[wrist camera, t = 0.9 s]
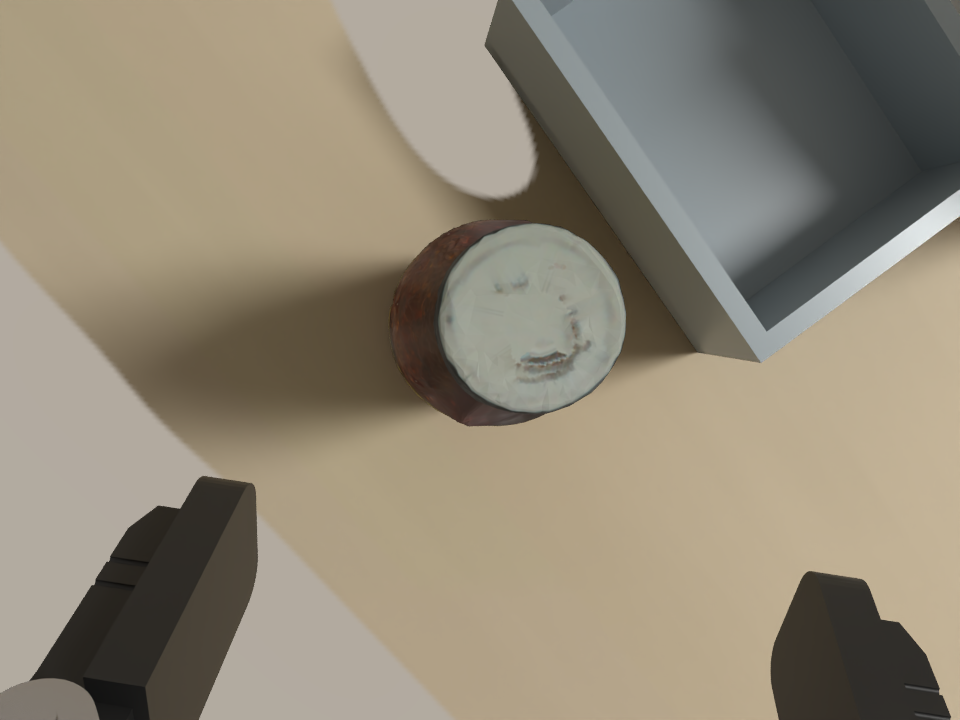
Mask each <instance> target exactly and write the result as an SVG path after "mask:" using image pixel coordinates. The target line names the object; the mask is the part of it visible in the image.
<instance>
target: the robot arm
mask: <svg viewBox="0 0 960 720" xmlns="http://www.w3.org/2000/svg"><path fill="white" fill-rule="evenodd" d="M257 553H258V549H257V515H256V491H255V487H254V485H253V484H252V483H246V482H240V481H233V480H227V479H220V478H213V477H207V476H202V477H200V478H199V479H198V480H197V482H196V483H195V485H194V486H193V488H192V490H191V492H190V493H189V495H188V497H187V498H186V500H185V502H184V504H183V505H182V507H181V509H177V508H171V507H164V506H157V507H156V508H154V509H153V510H152V511H150V512H149V513H148V514H146V515H145V516H144V517H142V518H141V519H140V520H139V521H137V522H136V523H135V524H133V525H132V526H130V527H129V528H128V530H127V531H126V532H125V534H124V536H123V537H122V539H121V540H120V542H119V544H118V545H117V547H116V548H115V550H114V551H113V553H112V554H111V556H110V561H109V562H106V564H105V565H104V567H103V569H102V570H101V572H100V573H99V575H98V576H97V578H96V582H95V585H92V586H91V587H90V589H89V590H88V592H87V594H86V595H85V597H84V598H83V600H82V601H81V603H80V605H79V606H78V608H77V609H76V611H75V612H74V614H73V616H72V617H71V619H70V620H69V622H68V623H67V625H66V626H65V628H64V630H63V631H62V633H61V634H60V636H59V638H58V639H57V641H56V642H55V644H54V645H53V647H52V648H51V650H50V651H49V653H48V655H47V656H46V658H45V659H44V661H43V663H42V664H41V666H40V667H39V669H38V670H37V672H36V673H35V674H34V676H33V677H32V678H31V679H30V681H28V682H25V683H21V684H19V685H16V686H13V687H11V688H9V689H7V690H5V691H4V692H2V693H0V720H199V717H200V715H201V713H202V710H203V708H204V706H205V703H206V701H207V699H208V696H209V694H210V691H211V689H212V687H213V685H214V682H215V680H216V678H217V675H218V673H219V671H220V668H221V666H222V664H223V661H224V659H225V656H226V654H227V652H228V649H229V647H230V645H231V642H232V640H233V638H234V636H235V633H236V631H237V628H238V626H239V624H240V621H241V619H242V617H243V614H244V612H245V610H246V607H247V605H248V603H249V600H250V597H251V594H252V591H253V587H254V583H255V578H256V572H257V562H258V554H257ZM771 684H772V690H773V694H774V699H775V704H776V708H777V713H778V718H779V720H950V718H951V716H950V713H949V711H948V708H947V706H946V703H945V701H944V698H943V696H942V695H939V689H940V688H939V686H938V683H937V681H936V678H935V676H934V673H933V671H932V668H931V666H930V663H929V661H928V658H927V656H926V654H925V653H924V652H923V650H922V649H921V648H920V647H919V646H918V645H917V643H916V642H915V641H914V640H913V639H912V637H911V636H910V635H909V634H908V633H907V631H906V630H905V629H904V628H903V627H902V625H901V624H900V623H899V622H893V621H886V620H881V619H880V616H879V613H878V611H877V608H876V605H875V602H874V600H873V597H872V594H871V591H870V589H869V587H868V585H867V583H866V582H865V581H864V580H862V579H857V578H851V577H844V576H838V575H831V574H825V573H818V572H812V571H809V572H807V573H806V574H805V575H804V576H803V577H802V579H801V581H800V584H799V586H798V588H797V591H796V593H795V595H794V598H793V600H792V602H791V605H790V607H789V609H788V612H787V614H786V617H785V619H784V621H783V624H782V626H781V628H780V631H779V633H778V635H777V638H776V640H775V643H774V647H773V651H772V657H771Z"/></svg>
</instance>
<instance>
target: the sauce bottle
mask: <svg viewBox="0 0 960 720" xmlns="http://www.w3.org/2000/svg"><path fill="white" fill-rule="evenodd" d="M625 331H626V310H625V304H624V298H623V295H622V292H621V288H620V283H619V279H618V278H617V276H616V274H615V272H614V271H613V269H612V268H611V267H610V265H609V264H608V262H607V261H606V260H605V259H604V258H603V256H602V255H601V254H600V253H599V252H598V251H597V250H596V249H595V248H594V247H593V246H592V245H591V244H589V243H588V242H587V241H586V240H584V239H582V238H581V237H579V236H577V235H575V234H573V233H572V232H570V231H569V230H567V229H564V228H562V227H558V226H552V225H548V224H540V223H532V222H529V221H526V220H480V221H476V222H471V223H468V224H464V225H461V226H460V227H457V228H453V229H451V230H450V231H448V232H446V233H443V234H442V235H441V236H440V237H438V238H437V239H435V240H434V241H432V242H431V243H429V245H428V246H427V247H425V248H424V249H423V250H422V251H421V253H420V254H419V255H418V256H417V257H416V258H415V259H414V260H413V261H412V262H411V264H410V265H409V267H408V268H407V269H406V271H405V272H404V274H403V275H402V277H401V279H400V281H399V283H398V285H397V287H396V290H395V293H394V299H393V305H392V306H391V308H390V313H389V337H390V344H391V348H392V352H393V356H394V358H395V361H396V364H397V366H398V368H399V370H400V372H401V374H402V375H403V377H404V379H405V380H406V382H407V383H408V385H409V386H410V387H411V388H412V389H413V390H414V391H415V393H416V394H417V395H418V396H419V397H420V398H422V399H423V400H424V401H425V402H426V403H427V404H429V405H430V406H432V407H433V408H434V409H436V410H437V411H439V412H441V413H443V414H445V415H447V416H449V417H451V418H452V419H454V420H456V421H457V422H459V423H462V424H464V425H467V426H504V425H513V424H518V423H523V422H527V421H529V420H532V419H535V418H538V417H540V416H542V415H544V414H547V413H550V412H553V411H556V410H559V409H562V408H565V407H568V406H570V405H572V404H574V403H575V402H577V401H579V400H580V399H582V398H583V397H585V396H587V395H589V394H590V393H592V392H593V391H594V390H595V389H596V388H597V387H598V385H599V384H600V383H601V382H602V381H603V380H604V378H605V377H606V376H607V374H608V373H609V372H610V370H611V369H612V367H613V365H614V364H615V362H616V360H617V358H618V356H619V354H620V352H621V349H622V346H623V342H624V338H625Z"/></svg>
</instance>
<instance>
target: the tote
mask: <svg viewBox="0 0 960 720" xmlns="http://www.w3.org/2000/svg"><path fill="white" fill-rule="evenodd" d="M485 47H486V48H487V50H488V51H489V53H490V54H491V55H492V57H493V58H494V60H495V61H496V62H497V64H498V65H499V67H500V68H501V70H502V71H503V73H504V74H505V76H506V77H507V79H508V80H509V81H510V83H511V84H512V86H513V87H514V89H515V90H516V91H517V93H518V94H519V96H520V97H521V99H522V100H523V102H524V103H525V104H526V106H527V107H528V109H529V110H530V112H531V113H532V115H533V116H534V117H535V119H536V120H537V122H538V123H539V125H540V126H541V127H542V129H543V130H544V132H545V133H546V135H547V136H548V138H549V139H550V140H551V142H552V143H553V145H554V146H555V148H556V149H557V151H558V152H559V153H560V155H561V156H562V158H563V159H564V161H565V162H566V163H567V165H568V166H569V168H570V169H571V171H572V172H573V174H574V175H575V176H576V178H577V179H578V181H579V182H580V184H581V185H582V187H583V188H584V189H585V191H586V192H587V194H588V195H589V197H590V198H591V199H592V201H593V202H594V204H595V205H596V207H597V208H598V210H599V211H600V212H601V214H602V215H603V217H604V218H605V220H606V221H607V223H608V224H609V225H610V227H611V228H612V230H613V231H614V233H615V234H616V235H617V237H618V238H619V240H620V241H621V243H622V244H623V246H624V247H625V248H626V250H627V251H628V253H629V254H630V256H631V257H632V259H633V260H634V261H635V263H636V264H637V266H638V267H639V269H640V270H641V271H642V273H643V274H644V276H645V277H646V279H647V280H648V282H649V283H650V284H651V286H652V287H653V289H654V290H655V292H656V293H657V295H658V296H659V297H660V299H661V300H662V302H663V303H664V305H665V306H666V307H667V309H668V310H669V312H670V313H671V315H672V316H673V318H674V319H675V320H676V322H677V323H678V325H679V326H680V328H681V329H682V330H683V332H684V333H685V335H686V336H687V338H688V339H689V341H690V342H691V343H692V345H693V346H694V348H695V349H696V351H697V352H698V353H704V354H710V355H716V356H722V357H728V358H735V359H741V360H747V361H753V362H759V363H762V362H763V361H764V360H766V359H767V358H768V357H770V356H771V355H772V354H774V353H775V352H777V351H778V350H779V349H781V348H782V347H783V346H785V345H786V344H787V343H789V342H790V341H791V340H793V339H794V338H795V337H797V336H798V335H800V334H801V333H802V332H804V331H805V330H806V329H808V328H809V327H810V326H812V325H813V324H814V323H816V322H817V321H818V320H820V319H821V318H823V317H824V316H825V315H827V314H828V313H829V312H831V311H832V310H833V309H835V308H836V307H837V306H839V305H840V304H842V303H843V302H844V301H846V300H847V299H848V298H850V297H851V296H852V295H854V294H855V293H856V292H858V291H859V290H860V289H862V288H863V287H865V286H866V285H867V284H869V283H870V282H871V281H873V280H874V279H875V278H877V277H878V276H879V275H881V274H882V273H883V272H885V271H886V270H888V269H889V268H890V267H892V266H893V265H894V264H896V263H897V262H898V261H900V260H901V259H902V258H904V257H905V256H906V255H908V254H909V253H911V252H912V251H913V250H915V249H916V248H917V247H919V246H920V245H921V244H923V243H924V242H925V241H927V240H928V239H929V238H931V237H932V236H934V235H935V234H936V233H938V232H939V231H940V230H942V229H943V228H944V227H946V226H947V225H948V224H950V223H951V222H952V221H954V220H955V219H957V218H958V217H959V216H960V15H959V14H958V12H957V10H956V9H955V7H954V6H953V4H952V3H951V1H950V0H498V2H497V6H496V9H495V13H494V16H493V19H492V22H491V25H490V29H489V32H488V35H487V39H486V42H485Z"/></svg>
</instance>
